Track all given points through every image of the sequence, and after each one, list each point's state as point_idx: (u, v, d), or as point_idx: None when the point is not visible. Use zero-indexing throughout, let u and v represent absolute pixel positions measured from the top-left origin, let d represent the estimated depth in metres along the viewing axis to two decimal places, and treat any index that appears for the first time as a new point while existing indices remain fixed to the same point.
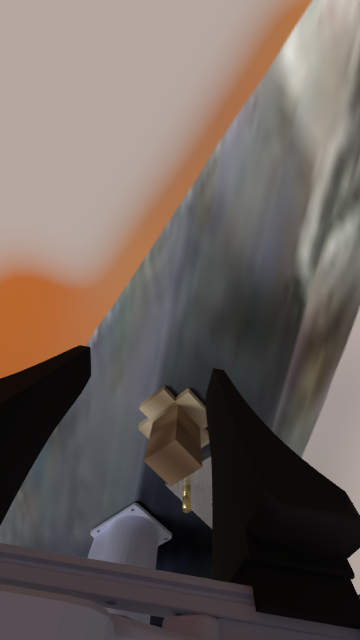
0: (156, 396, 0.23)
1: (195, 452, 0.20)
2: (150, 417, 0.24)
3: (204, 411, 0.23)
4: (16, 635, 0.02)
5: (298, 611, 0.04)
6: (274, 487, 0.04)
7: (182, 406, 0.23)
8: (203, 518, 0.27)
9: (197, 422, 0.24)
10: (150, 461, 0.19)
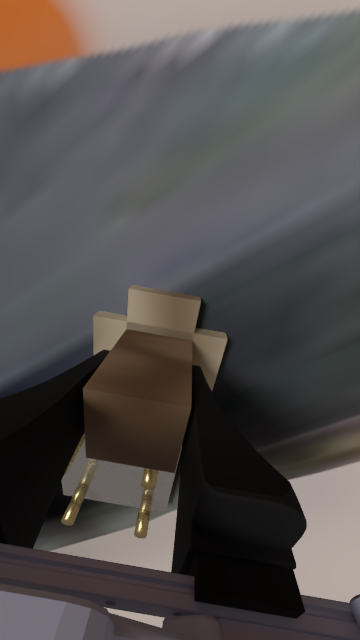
0: (177, 299, 0.11)
1: None
2: (131, 319, 0.11)
3: (212, 381, 0.13)
4: (16, 635, 0.02)
5: (233, 600, 0.04)
6: (215, 476, 0.04)
7: (194, 349, 0.12)
8: None
9: None
10: (97, 399, 0.07)
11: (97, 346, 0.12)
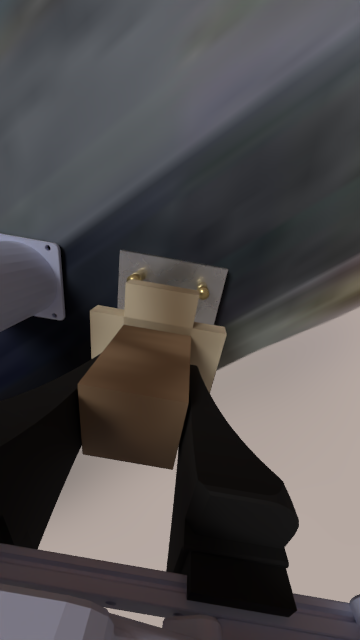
0: (175, 293, 0.11)
1: None
2: (128, 314, 0.11)
3: (211, 376, 0.13)
4: (16, 635, 0.02)
5: (225, 598, 0.04)
6: (208, 475, 0.04)
7: (193, 344, 0.12)
8: None
9: None
10: (92, 395, 0.07)
11: (94, 342, 0.12)
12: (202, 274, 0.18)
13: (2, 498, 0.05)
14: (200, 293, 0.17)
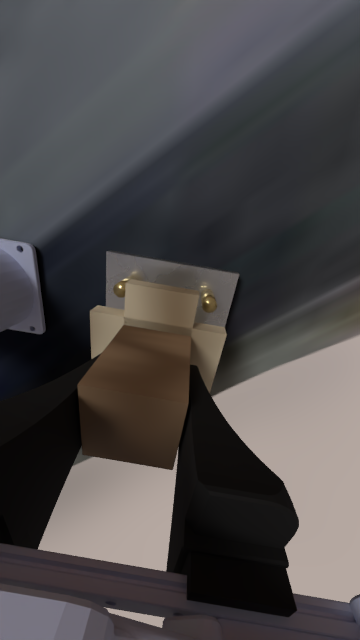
0: (175, 293, 0.11)
1: None
2: (128, 314, 0.11)
3: (211, 377, 0.13)
4: (16, 635, 0.02)
5: (225, 598, 0.04)
6: (209, 475, 0.04)
7: (193, 344, 0.12)
8: None
9: None
10: (92, 395, 0.07)
11: (94, 342, 0.12)
12: (207, 280, 0.15)
13: (2, 499, 0.05)
14: (206, 305, 0.13)
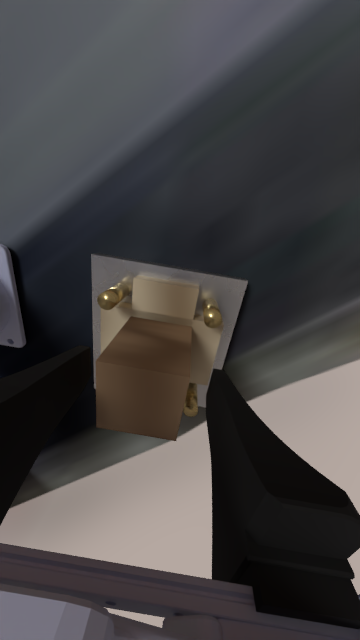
0: (178, 287, 0.12)
1: None
2: (135, 306, 0.13)
3: (210, 364, 0.14)
4: (16, 635, 0.02)
5: (298, 611, 0.04)
6: (274, 487, 0.04)
7: (193, 334, 0.13)
8: (96, 355, 0.15)
9: None
10: (108, 371, 0.08)
11: (104, 332, 0.13)
12: (210, 288, 0.13)
13: None
14: (208, 319, 0.11)
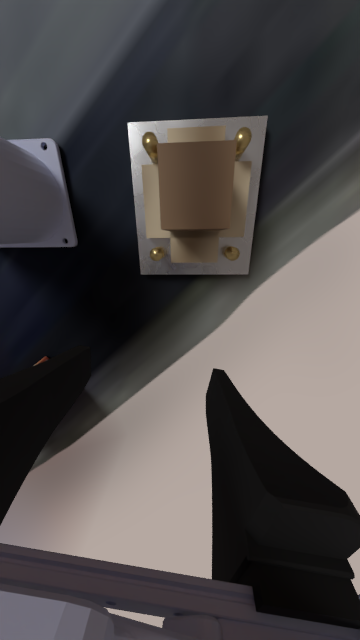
0: (206, 128, 0.14)
1: None
2: None
3: (244, 211, 0.15)
4: (16, 635, 0.02)
5: (298, 611, 0.04)
6: (274, 487, 0.04)
7: None
8: (140, 235, 0.17)
9: None
10: (167, 153, 0.10)
11: (146, 197, 0.15)
12: (234, 132, 0.14)
13: None
14: (239, 137, 0.12)
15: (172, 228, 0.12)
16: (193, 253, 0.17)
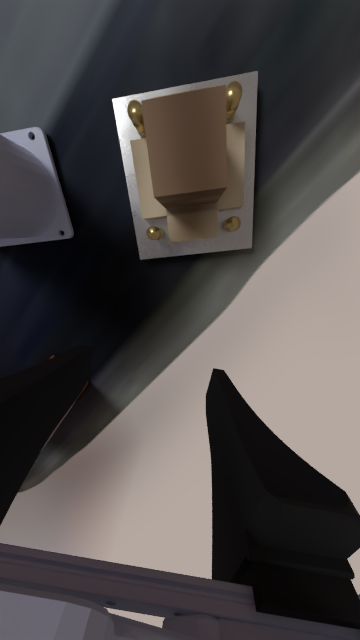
0: None
1: None
2: None
3: (241, 177, 0.14)
4: (16, 635, 0.02)
5: (298, 611, 0.04)
6: (275, 487, 0.04)
7: None
8: (136, 218, 0.17)
9: None
10: (153, 110, 0.10)
11: (138, 175, 0.15)
12: None
13: None
14: (229, 93, 0.12)
15: (166, 194, 0.11)
16: (192, 230, 0.16)
